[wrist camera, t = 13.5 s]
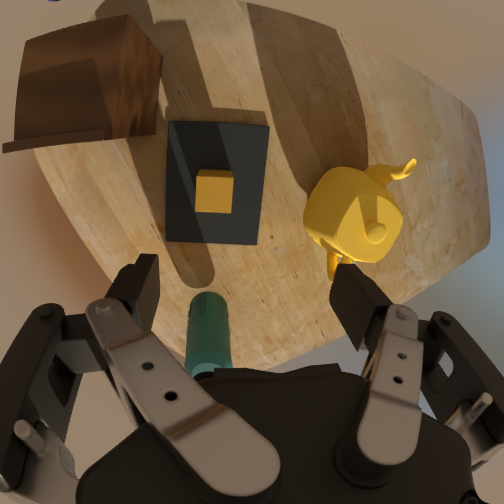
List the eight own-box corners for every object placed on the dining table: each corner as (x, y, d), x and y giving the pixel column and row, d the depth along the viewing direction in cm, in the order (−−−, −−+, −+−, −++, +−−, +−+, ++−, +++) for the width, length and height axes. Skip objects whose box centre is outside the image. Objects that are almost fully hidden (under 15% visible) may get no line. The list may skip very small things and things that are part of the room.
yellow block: (199, 169, 38) (196, 175, 33) (231, 170, 39) (233, 177, 33) (198, 199, 40) (194, 211, 34) (229, 201, 40) (230, 213, 35)
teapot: (398, 169, 42) (446, 186, 30) (342, 268, 48) (374, 308, 37) (336, 126, 38) (379, 128, 27) (277, 239, 44) (297, 279, 33)
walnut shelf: (88, 64, 29) (15, 37, 12) (163, 56, 31) (122, 6, 14) (82, 138, 34) (2, 153, 17) (155, 134, 36) (103, 140, 19)
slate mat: (169, 121, 35) (169, 120, 35) (269, 126, 37) (269, 126, 37) (166, 240, 42) (165, 241, 42) (256, 244, 44) (256, 245, 44)
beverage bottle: (187, 286, 46) (174, 379, 28) (226, 283, 47) (234, 376, 29) (193, 317, 49) (186, 410, 31) (229, 314, 49) (238, 407, 31)
